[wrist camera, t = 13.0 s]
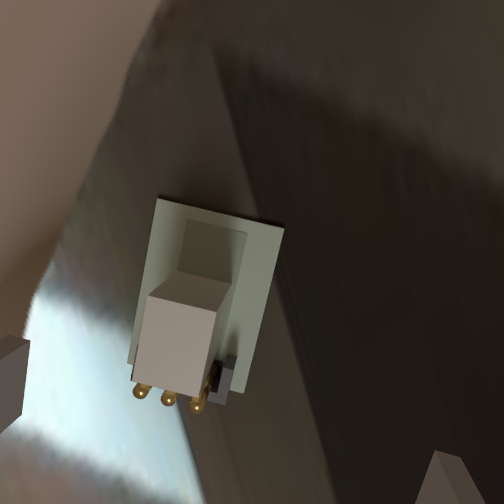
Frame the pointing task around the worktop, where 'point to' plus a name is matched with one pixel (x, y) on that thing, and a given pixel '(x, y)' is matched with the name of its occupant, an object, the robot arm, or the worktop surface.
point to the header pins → (170, 396)
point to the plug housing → (181, 333)
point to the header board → (214, 277)
